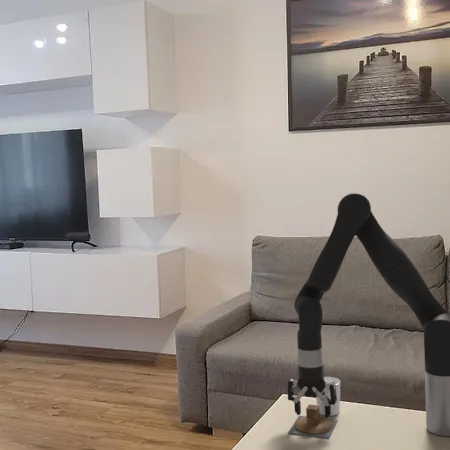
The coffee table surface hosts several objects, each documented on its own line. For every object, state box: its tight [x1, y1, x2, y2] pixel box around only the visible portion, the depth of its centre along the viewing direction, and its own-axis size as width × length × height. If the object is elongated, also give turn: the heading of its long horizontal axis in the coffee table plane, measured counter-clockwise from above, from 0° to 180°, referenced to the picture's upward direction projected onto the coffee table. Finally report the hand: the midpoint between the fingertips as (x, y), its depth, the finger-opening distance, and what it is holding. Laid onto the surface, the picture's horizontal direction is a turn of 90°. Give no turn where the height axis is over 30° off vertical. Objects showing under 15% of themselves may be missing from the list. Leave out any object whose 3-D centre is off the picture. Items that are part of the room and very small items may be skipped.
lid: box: [294, 404, 332, 434], centre depth 173 cm, size 11×11×6 cm
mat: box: [287, 415, 339, 439], centre depth 173 cm, size 12×12×1 cm
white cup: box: [315, 376, 341, 417], centre depth 183 cm, size 8×8×10 cm
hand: (312, 415), depth 173 cm, fingers open, 8 cm apart
